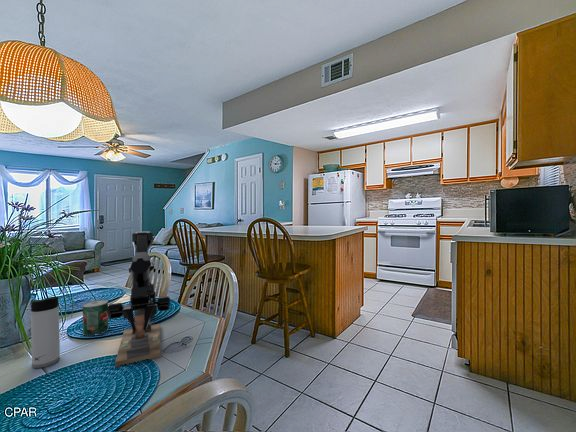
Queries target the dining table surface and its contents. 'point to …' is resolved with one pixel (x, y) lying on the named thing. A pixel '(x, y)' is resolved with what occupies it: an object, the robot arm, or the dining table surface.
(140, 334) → the handle
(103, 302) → the canned tomato
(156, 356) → the press base
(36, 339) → the travel mug
